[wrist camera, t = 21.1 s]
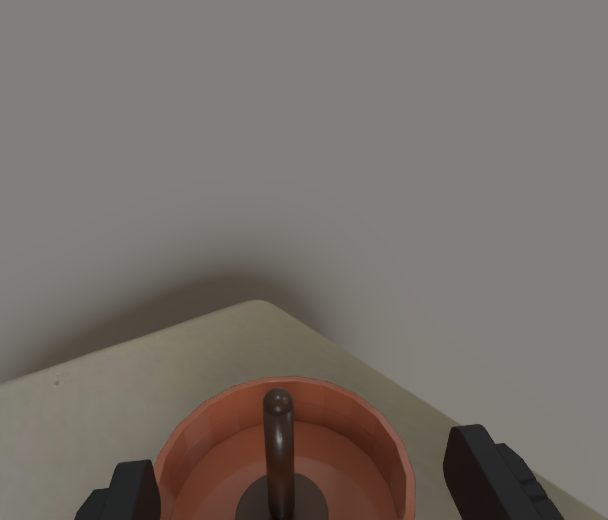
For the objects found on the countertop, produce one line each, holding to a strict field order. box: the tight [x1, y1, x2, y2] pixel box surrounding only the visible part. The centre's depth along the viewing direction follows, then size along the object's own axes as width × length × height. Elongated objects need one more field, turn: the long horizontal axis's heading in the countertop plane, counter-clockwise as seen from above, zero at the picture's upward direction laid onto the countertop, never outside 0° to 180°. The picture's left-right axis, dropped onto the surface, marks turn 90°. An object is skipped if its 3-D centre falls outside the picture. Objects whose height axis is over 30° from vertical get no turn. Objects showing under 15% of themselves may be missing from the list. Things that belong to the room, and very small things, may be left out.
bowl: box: [154, 376, 415, 520], centre depth 28 cm, size 17×17×6 cm
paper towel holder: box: [235, 387, 329, 520], centre depth 26 cm, size 6×6×12 cm
